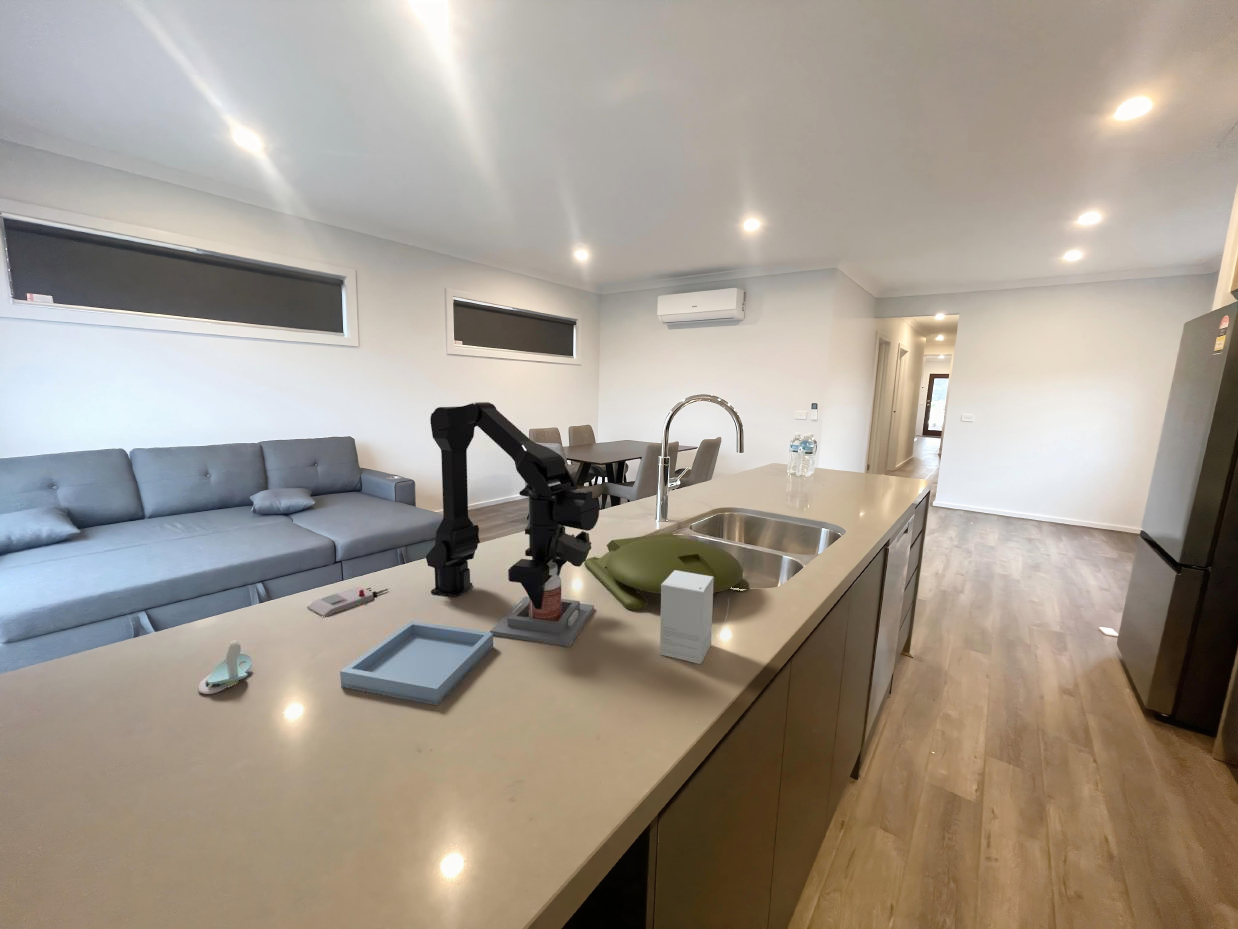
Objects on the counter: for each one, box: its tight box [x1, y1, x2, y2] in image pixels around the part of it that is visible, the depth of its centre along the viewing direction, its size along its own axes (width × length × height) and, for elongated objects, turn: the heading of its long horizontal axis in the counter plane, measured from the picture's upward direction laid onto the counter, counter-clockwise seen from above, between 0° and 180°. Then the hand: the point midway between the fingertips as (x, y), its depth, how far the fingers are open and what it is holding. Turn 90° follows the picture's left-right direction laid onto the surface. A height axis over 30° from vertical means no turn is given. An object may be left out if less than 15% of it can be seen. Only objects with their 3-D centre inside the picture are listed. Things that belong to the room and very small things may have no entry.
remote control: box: [306, 586, 389, 618], centre depth 99 cm, size 7×16×3 cm, turn 146°
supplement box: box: [659, 570, 714, 665], centre depth 82 cm, size 7×7×13 cm
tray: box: [339, 620, 494, 706], centre depth 77 cm, size 16×16×2 cm
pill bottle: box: [528, 562, 563, 622], centre depth 91 cm, size 6×6×11 cm
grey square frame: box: [489, 596, 595, 648], centre depth 92 cm, size 15×15×2 cm
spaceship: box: [583, 533, 750, 611], centre depth 112 cm, size 35×31×10 cm
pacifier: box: [198, 640, 253, 695], centre depth 71 cm, size 7×6×6 cm
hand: (545, 601), depth 91 cm, fingers closed on pill bottle, 6 cm apart
